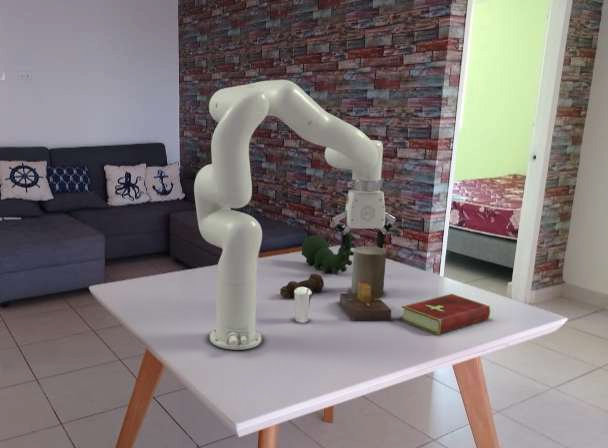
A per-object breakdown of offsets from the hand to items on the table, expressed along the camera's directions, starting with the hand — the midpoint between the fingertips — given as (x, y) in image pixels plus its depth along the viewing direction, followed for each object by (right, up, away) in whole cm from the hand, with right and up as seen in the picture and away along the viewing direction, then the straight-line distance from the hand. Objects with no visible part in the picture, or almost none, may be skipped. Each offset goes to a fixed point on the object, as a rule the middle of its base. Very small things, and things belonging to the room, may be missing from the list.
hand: (362, 247), depth 156 cm
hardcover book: (+21, -20, -4) cm, 29 cm away
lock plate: (+1, -18, +2) cm, 18 cm away
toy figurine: (-2, -10, +43) cm, 44 cm away
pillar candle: (+6, -15, +18) cm, 24 cm away
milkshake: (-18, -20, -6) cm, 27 cm away
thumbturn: (+1, -15, +2) cm, 15 cm away
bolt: (-15, -15, +16) cm, 27 cm away
